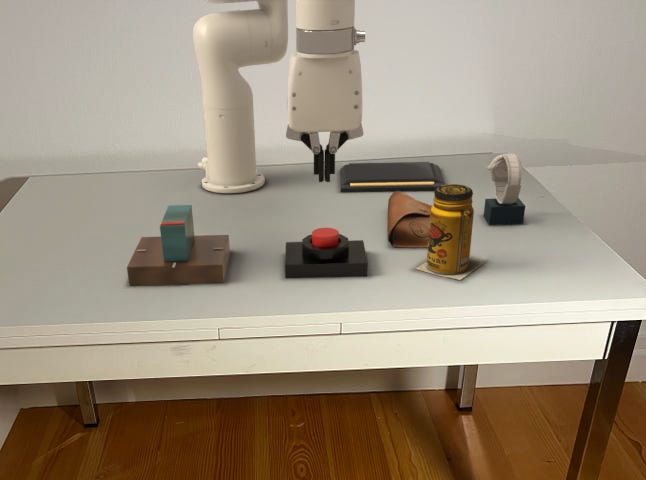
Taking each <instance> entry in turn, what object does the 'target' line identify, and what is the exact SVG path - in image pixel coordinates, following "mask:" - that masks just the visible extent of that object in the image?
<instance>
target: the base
mask: <svg viewBox="0 0 646 480" xmlns="http://www.w3.org/2000/svg"><path fill="white" fill-rule="evenodd" d="M194 236H195V239H194V242H193V246H192V249H191V253H190V256H189V260H188V261H172V262H164V258H163V250H162V241H161V236H141V237H140V239H139V241H138V244H137V246H136V248H135V250H134V252H133V253H132V256H131V258H130V260H129V262H128V263H127V266H126V270H127V279H128V284H129V286H133V287H134V286H165V285H166V286H174V285H175V286H176V285H178V286H180V285H210V284H211V285H213V284H214V285H215V284H217V285H219V284H224V283H225V278H226V275H227V268H228V265H229V259H230V253H231V246H230V236H229V234H206V235H205V234H204V235H194Z"/></svg>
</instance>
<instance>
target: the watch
mask: <svg viewBox="0 0 646 480" xmlns="http://www.w3.org/2000/svg"><path fill="white" fill-rule="evenodd" d="M487 170H488V171H490V174H491V179H492V180H491V181H492V182H493V183H494V194H495V198H485V199H484V207H483V208H484V209H483V218H484V220H485V221H486V222H487V224H488V225H489V226H510V225H524V220H525V213H526V205H525V204H524V202H523V201H522V200H521V199H520V198H519V197H520V193H521V190H522V185H521V184H522V173H523V172H522V160H521V157H520V154H516V153H515V154H514V153H503V154H500V155H497V156H496V157H494V158H493V159H492V160H491V161H490V163H489V164H488V165H487Z"/></svg>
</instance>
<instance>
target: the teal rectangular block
mask: <svg viewBox="0 0 646 480" xmlns="http://www.w3.org/2000/svg"><path fill="white" fill-rule="evenodd" d="M193 215H194V214H193V205H192V204H178V205H176V204H175V205H168V206H167V208H166V211H165V213H164V215H163V217H162V220H161V222H160V226H159V232H160V237H161V241H162V250H163V258H164V262H172V261H188V260H189V256H190V253H191V249H192V246H193V242H194V239H195V236H196V235H195V227H194V216H193Z"/></svg>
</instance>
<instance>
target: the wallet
mask: <svg viewBox="0 0 646 480" xmlns="http://www.w3.org/2000/svg"><path fill="white" fill-rule="evenodd" d="M339 171H340V172H339V175H340V193H364V192H365V193H366V192H367V193H368V192H371V193H372V192H395V191H400V192H425V191H427V192H429V191H430V192H431V191H432V192H433V191H434V192H435V189H436V188H437V187H439V186H442V185H445V180H444V177H443V174H442V172H441V168H440V166H439V165H437V164H435V163H433V162H430V161H400V162H398V161H397V162H396V161H395V162H394V161H393V162H350V163H348V164H344V165H343V166H342V167H340V170H339Z"/></svg>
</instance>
